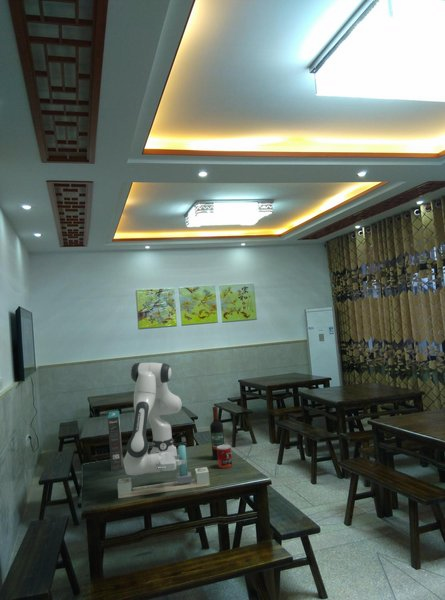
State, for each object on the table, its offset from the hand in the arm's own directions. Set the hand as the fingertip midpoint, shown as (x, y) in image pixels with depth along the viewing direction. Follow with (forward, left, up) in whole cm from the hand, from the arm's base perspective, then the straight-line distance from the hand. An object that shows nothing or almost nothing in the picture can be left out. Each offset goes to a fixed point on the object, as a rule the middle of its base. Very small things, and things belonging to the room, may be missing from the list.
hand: (184, 459), depth 225 cm
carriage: (0, -1, -11) cm, 11 cm away
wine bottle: (-39, +22, -13) cm, 47 cm away
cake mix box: (-54, -38, -13) cm, 67 cm away
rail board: (0, -11, -13) cm, 17 cm away
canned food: (-22, +23, -13) cm, 34 cm away
